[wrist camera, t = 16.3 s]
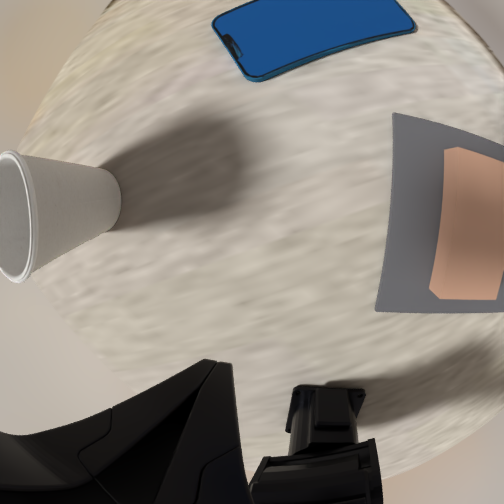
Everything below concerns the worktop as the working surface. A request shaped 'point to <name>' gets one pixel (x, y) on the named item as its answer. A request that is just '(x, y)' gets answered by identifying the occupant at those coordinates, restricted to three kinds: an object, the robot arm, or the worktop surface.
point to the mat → (423, 217)
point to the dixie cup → (50, 210)
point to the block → (470, 228)
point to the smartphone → (303, 31)
